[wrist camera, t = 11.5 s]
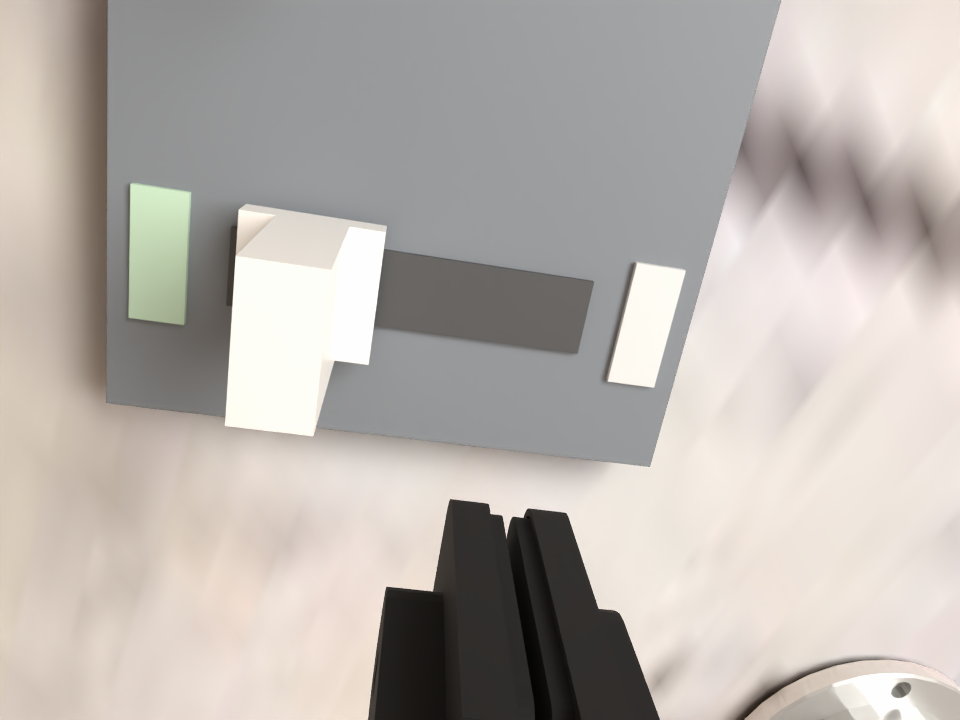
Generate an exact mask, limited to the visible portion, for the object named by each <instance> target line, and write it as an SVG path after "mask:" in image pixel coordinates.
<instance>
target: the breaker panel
mask: <svg viewBox="0 0 960 720" xmlns="http://www.w3.org/2000/svg"><path fill="white" fill-rule="evenodd" d="M780 3H781V0H108V71H107V346H106V403H111V404H119V405H128V406H136V407H145V408H153V409H162V410H170V411H179V412H187V413H196V414H204V415H213V416H221V417H226V401H227V385H228V369H229V353H230V338H231V322H232V306H233V290H234V274H235V258H236V244H237V228H238V212H239V209H240V208H241V207H243V206H244V205H245V204H251V205H257V206H263V207H270V208H276V209H283V210H289V211H295V212H302V213H308V214H315V215H321V216H327V217H334V218H340V219H347V220H353V221H359V222H366V223H372V224H379V225H385V226H387V229H386V237H385V244H384V252H383V259H382V267H381V275H380V282H379V290H378V298H377V305H376V313H375V321H374V328H373V336H372V343H371V351H370V358H369V364H368V365H365V364H358V363H350V362H342V361H335V360H334V364H333V367H332V371H331V375H330V378H329V382H328V385H327V389H326V393H325V396H324V400H323V403H322V407H321V411H320V414H319V418H318V421H317V425H316V428H324V429H332V430H341V431H349V432H358V433H366V434H375V435H383V436H392V437H400V438H409V439H417V440H426V441H434V442H443V443H451V444H460V445H468V446H477V447H485V448H494V449H502V450H511V451H519V452H528V453H536V454H545V455H553V456H562V457H570V458H579V459H587V460H596V461H604V462H613V463H621V464H630V465H638V466H647V467H650V465H651V461H652V458H653V454H654V451H655V447H656V443H657V440H658V436H659V433H660V429H661V426H662V422H663V419H664V415H665V411H666V408H667V404H668V401H669V397H670V394H671V390H672V387H673V383H674V379H675V376H676V372H677V369H678V365H679V362H680V358H681V355H682V351H683V348H684V344H685V340H686V337H687V333H688V330H689V326H690V323H691V319H692V316H693V312H694V308H695V305H696V301H697V298H698V294H699V291H700V287H701V284H702V280H703V277H704V273H705V269H706V266H707V262H708V259H709V255H710V252H711V248H712V245H713V241H714V237H715V234H716V230H717V227H718V223H719V220H720V216H721V213H722V209H723V205H724V202H725V198H726V195H727V191H728V188H729V184H730V181H731V177H732V174H733V170H734V166H735V163H736V159H737V156H738V152H739V149H740V145H741V142H742V138H743V134H744V131H745V127H746V124H747V120H748V117H749V113H750V110H751V106H752V102H753V99H754V95H755V92H756V88H757V85H758V81H759V78H760V74H761V71H762V67H763V63H764V60H765V56H766V53H767V49H768V46H769V42H770V39H771V35H772V31H773V28H774V24H775V21H776V17H777V14H778V10H779V7H780Z"/></svg>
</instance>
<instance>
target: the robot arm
mask: <svg viewBox="0 0 960 720" xmlns="http://www.w3.org/2000/svg"><path fill="white" fill-rule="evenodd" d="M368 720H660V719H659V716H658V713H657V711H656V708H655V705H654V702H653V700H652V697H651V694H650V692H649V689H648V686H647V683H646V681H645V678H644V675H643V673H642V670H641V667H640V665H639V662H638V659H637V656H636V654H635V651H634V648H633V646H632V643H631V640H630V637H629V635H628V632H627V629H626V627H625V624H624V621H623V619H622V617H621V616H620V614H619V613H618V612H616V611H613V610H604V609H598V606H597V603H596V600H595V597H594V594H593V591H592V588H591V585H590V582H589V579H588V576H587V573H586V570H585V567H584V564H583V561H582V557H581V554H580V551H579V548H578V545H577V542H576V539H575V536H574V533H573V530H572V527H571V524H570V521H569V518H568V516H567V514H566V513H562V512H554V511H545V510H537V509H527V510H526V513H525V515H524V518H519V517H512V519H511V521H510V525H509V529H508V534H507V539H506V534H505V528H504V522H503V517H502V516H501V515H493V514H490V508H489V504H486V503H478V502H469V501H461V500H452V499H450V501H449V505H448V509H447V515H446V520H445V526H444V532H443V538H442V543H441V549H440V555H439V560H438V566H437V572H436V578H435V583H434V589H433V592H431V591H422V590H412V589H403V588H393V587H386V591H385V597H384V603H383V609H382V616H381V623H380V629H379V636H378V643H377V650H376V658H375V665H374V673H373V681H372V690H371V699H370V708H369V717H368ZM744 720H960V687H959V686H958V685H957V684H956V683H955V682H954V681H953V680H951V679H949V678H948V677H946V676H944V675H943V674H941V673H939V672H938V671H936V670H934V669H931V668H928V667H925V666H922V665H919V664H916V663H912V662H904V661H896V660H864V661H857V662H852V663H846V664H841V665H836V666H832V667H830V668H827V669H824V670H821V671H818V672H815V673H812V674H809V675H807V676H805V677H803V678H801V679H799V680H797V681H795V682H793V683H791V684H789V685H787V686H785V687H784V688H782V689H781V690H779V691H778V692H776V693H775V694H774V695H772V696H771V697H769V698H768V699H766V700H765V701H764V702H762V703H761V704H760V705H759V706H758V707H757V708H756V709H755V710H754V711H753V712H752V713H751V714H750V715H748V716H747V717H746V718H745V719H744Z"/></svg>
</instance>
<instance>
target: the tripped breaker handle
mask: <svg viewBox="0 0 960 720" xmlns="http://www.w3.org/2000/svg"><path fill="white" fill-rule="evenodd" d="M386 229H387V226H385V225H379V224H372V223H366V222H359V221H353V220H347V219H340V218H334V217H327V216H321V215H315V214H308V213H302V212H295V211H289V210H283V209H276V208H270V207H263V206H257V205H251V204H245V205H244V206H243V207H241V208H240V209H239V212H238V228H237V244H236V258H235V274H234V290H233V306H232V322H231V338H230V353H229V369H228V385H227V401H226V417H225V426H229V427H238V428H247V429H255V430H264V431H272V432H281V433H290V434H298V435H307V436H314V432H315V428H316V425H317V421H318V418H319V414H320V411H321V407H322V403H323V400H324V396H325V393H326V389H327V385H328V382H329V378H330V375H331V371H332V367H333V364H334V360H335V361H342V362H350V363H358V364H365V365H368V364H369V358H370V351H371V343H372V336H373V328H374V321H375V313H376V305H377V298H378V290H379V282H380V275H381V267H382V259H383V252H384V244H385V237H386Z"/></svg>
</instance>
